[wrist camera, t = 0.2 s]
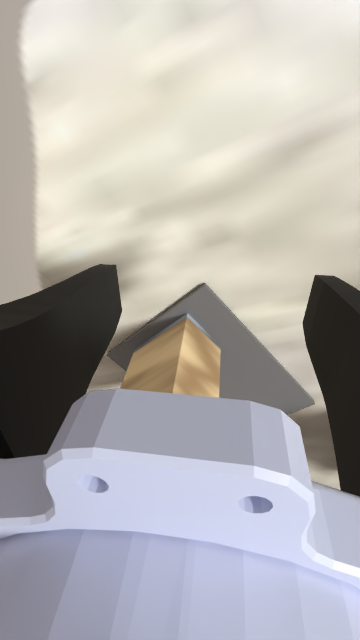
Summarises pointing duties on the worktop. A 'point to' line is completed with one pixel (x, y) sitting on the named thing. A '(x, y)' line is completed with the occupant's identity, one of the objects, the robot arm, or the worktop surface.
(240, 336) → the grey flat rectangular piece
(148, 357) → the oak block
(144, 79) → the worktop surface
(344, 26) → the worktop surface
